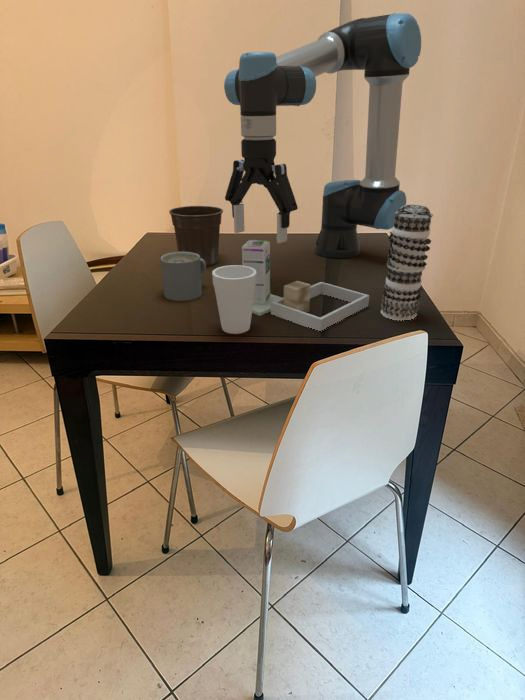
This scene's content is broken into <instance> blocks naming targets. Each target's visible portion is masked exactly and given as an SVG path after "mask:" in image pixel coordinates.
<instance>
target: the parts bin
mask: <svg viewBox="0 0 525 700" xmlns="http://www.w3.org/2000/svg"><path fill="white" fill-rule="evenodd" d="M320 295H323V296H326V295H327V296H326V297H330V296H331V298H333V297H334V298H333V299H336V298H338V299H337V300H340V299H341V300H340V301H343V300H344V301H343V302H346V301H348V302H347V304H345V305H343V306H340V307H339V308H337V309H335V310H333V311H330V312H328V313H327V314H325V315H322V316H321V317H320V316H316V315H314V314H311V313H309V312H308V313H305V312H302V311H300V310H297V309H294V308H291V307H288V306H285V305H284V296H283V297H282V298H281V299H278V300H276V301H273V302H271V311H270V315H272V316H274V315H275V317H277V318H280V319H283V320H286V321H288V320H289V322H291V321H292V322H291V323H295V324H296V325H299V326H303V327H305V328H308V327H309V328H308V329H310V328H312V329H311V330H313V329H315V330H314V331H316V330H318V331H317V332H319V331H321V332H323V331H325V330H327V329H328V328H327V327H329V326H331V325H333V324H335V323H336V324H338V323H340V322H342V321H344V320H345V319H344V318H346V317H348V316H350V315H352V314H353V315H355V314H357V313H359V312H361V311H363V310H364V308H365V309H366V307H367V308H368V307H369V303H370V302H369V301H370V295H369V294H366V293H362V292H359V291H356V290H351V289H348V288H346V287H345V288H344V287H341V286H337V285H333V284H331V283H326V282H323V281H320V282H317V283H315V284H312V285H311V288H310V300H311V299H312V298H315V297H318V296H320ZM350 302H351V303H350ZM362 309H363V310H362ZM360 310H361V311H360ZM358 311H359V312H358ZM356 312H357V313H356ZM354 313H355V314H354ZM353 315H352V316H353ZM350 317H351V316H350ZM348 318H349V317H348ZM343 319H344V320H343ZM346 319H347V318H346ZM341 320H342V321H341ZM339 321H340V322H339ZM337 322H338V323H337ZM336 324H335V325H336ZM333 326H334V325H333ZM331 327H332V326H331ZM326 328H327V329H326ZM329 328H330V327H329ZM324 329H325V330H324ZM322 330H323V331H322Z"/></svg>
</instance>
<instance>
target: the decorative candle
mask: <svg viewBox="0 0 525 700" xmlns="http://www.w3.org/2000/svg"><path fill="white" fill-rule="evenodd" d="M395 214H396V215H395V223H394V226H393V228H392V230H391V231H390V232H389V236H388V242H390V243H389V244H388V246H387V248H388V251H387V252H386V254H387V261H386V266H387V268H388V269H387V275H386V277H385V284H383V291H382V294H383V296H382V298H381V302H382V303H381V304H380V308H381V309H380V315H381V314H382V315H381V316H383V317H384V318H387V319H388V318H389V320H391V319H392V320H393V321H396V320H397V322H405V321H404V320H410V321H412V320H411V319H413V320H415V319H416V318H417V317H416V316H418V313H417V312H418V311H419V308H418V307H419V306H420V302H419V301H420V298H421V295H420V294H421V292H422V276H423V271H424V270H425V269H426V266H427V265H428V264H427V262H426V261H425V260H427V259H428V255H427V254H426V252H428V251H430V250H431V247H430V246H428V245H430V244H431V243H432V240H431V239H430V238H429V237H430V235H431V234H430V233H431V227H430V226H431V224H432V223H431V222H432V217H434V214H433V213H431V211H430V209H429V207H427V206H426V205H425V206H424V205H420V204H406V205H404V206H402V207H401V208H400V209H399V210H398V211H397V212H395ZM415 317H416V318H415ZM414 318H415V319H414ZM399 320H400V321H399ZM402 320H403V321H402Z"/></svg>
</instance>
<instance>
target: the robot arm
mask: <svg viewBox="0 0 525 700" xmlns="http://www.w3.org/2000/svg"><path fill="white" fill-rule="evenodd" d="M419 25H420V24H418V21H417V19H416V18H415V17H414V15H412V14H410V13H406V12H405V13H401V12H400V13H396V12H394V13H389V14H383V15H377V16H370V17H361V18H357V19H353V20H351V21H348V22H346V23H344V24H341V25H339V26H337V27H334V28H332V29H331V30H328V31H326V32H323V33H322V34H321V35H319V37H318V38H317V40H315V41H313V42H310V43H308V44H304V45H302V46H300V47H297V48H295V49H293V50H291V51H288V52H285V53H282V54H280V55H276V53H274V52H271V51H270V52H269V51H252V52H249V51H248V52H244V53H242V54H241V55H240V57H239V60H238V61H239V62H238V63H239V64H238V69H234V70H230V71H229V72H228V73H227V75H226V76H225V79H224V83H223V86H224V87H223V89H224V93H225V97H226V98H227V100H228V102H230V103H231V104H233V106H239V107H240V110H239V111H240V135H241V136H242V137H243V139H242V140H241V142H240V145H241V147H240V149H241V152H240V153H241V157H242V158H243V159H237V160H234V161H233V165H232V172H231V177H230V179H229V183H228V185H227V189H226V193H225V196H224V199H225V201H226V202H229V203H230V204H231V213H232V214H231V215H232V216H231V217H232V218H233V227H234V233H235V234H239V233H243V232H245V206H244V205H245V204H244V203H243V200H244V198H245V196H246V194H247V193H248V191H249V190H250V188H251V187H252V185H253V184H257V185H259V186H263V188H265V189H266V190H267V191H268V193H269V194H270V196H271V198H272V200H273V202H274V204H275V205H276V207H277V209H278V213H276V244H281V243H285V242H288V228H289V227H290V225H291V224H290V219H291V217H290V213H292V212H294V211H297V210H298V209H299V208H298V204H297V201H296V198H295V194H294V191H293V188H292V186H291V183H290V180H289V177H288V169H287V164H286V163H281V164H275V158H276V156H277V140H276V139H275V138H274V137H276V136H277V107H280V106H281V107H289V106H294V107H300V106H304V105H308V104H309V103H310V102H311V101H312V99H314V97H315V95H316V92H317V78H316V77H319V76H320V75H323V74H325V73H326V74H334V73H335V74H336V73H338V72H340V71H356V70H357V71H359V70H361V71H363V70H364V75H363V76H364V77H363V78H364V80H365V81H366V82H367V83H368V84H369V85H368V86H369V93H368V111H367V112H368V113H367V114H368V115H367V131H366V132H367V135H366V153H365V156H366V157H365V170H364V171H365V174H364V178H363V179H361V180H360V179H349V180H348V179H347V180H346V179H345V180H336V181H330V182H327V183H326V184H325V185H324V188H323V194H322V207H321V208H322V209H321V210H322V212H321V226H320V231H319V234H318V236H317V239H316V242H315V243H314V253H315V254H316V255H318V256H321V257H325V258H332V259H349V258H355V257H358V255H360V252H361V249H360V248H361V245H360V240H359V236H358V230H357V229H358V226H361V227H362V226H363V227H368V228H372V229H374V230H385V231H386V230H387V231H388V230H391V229H393V226H394V223H395V215H396V214H395V212H397V211H398V210H399V209H400V208H401V207H402V206H404V205H407V196H406V193H405V192H404V191H403V190H402V189H401V190H400V184H401V183H400V182H401V181H400V180H399V179H398V178H397V177H396V168H397V156H398V145H399V144H398V142H399V132H400V131H399V130H400V118H401V105H402V95H403V94H402V93H403V83H404V82H405V80H406V79H407V78H408V77H409V76H410V69H411V68H412V67H414V66H415V65H416V64H417V63H418V61H419V57H420V54H421V51H422V50H421V49H422V35H421V29H420V26H419Z"/></svg>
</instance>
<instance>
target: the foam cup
mask: <svg viewBox="0 0 525 700" xmlns="http://www.w3.org/2000/svg"><path fill="white" fill-rule="evenodd" d="M211 273H212V274H211V275H212V286H213V287H214V293H215V299H216V305H217V308H218V315H219V320H220V321H219V322H220V325H221V330H222V331H224V333H227V334H233V335H238V334H243V333H246V332H248V331H249V330H250V329H251V328H250V327H251V322H252V314H253V313H252V309H253V301H254V293H255V285H256V284H257V273H256V270H255V269H253V268H252V267H248V266H242V265H241V264H239V265H238V264H233V265H232V264H231V265H223V266H219V267H216V268H215V269H213V270H212V272H211Z"/></svg>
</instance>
